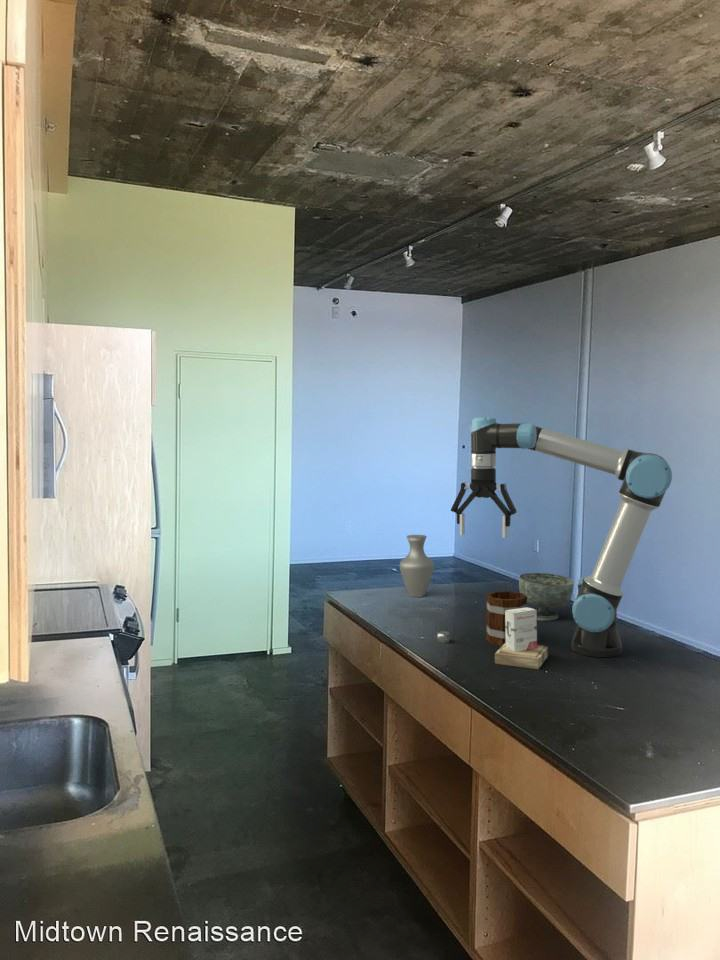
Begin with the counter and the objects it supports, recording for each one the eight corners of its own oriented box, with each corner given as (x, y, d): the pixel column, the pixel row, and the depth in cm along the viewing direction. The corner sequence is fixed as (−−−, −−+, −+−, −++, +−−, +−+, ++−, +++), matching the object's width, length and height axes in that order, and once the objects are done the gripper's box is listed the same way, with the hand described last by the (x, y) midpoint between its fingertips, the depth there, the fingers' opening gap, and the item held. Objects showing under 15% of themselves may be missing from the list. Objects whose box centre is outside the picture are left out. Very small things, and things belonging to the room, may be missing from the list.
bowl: (576, 625, 263) (576, 583, 261) (520, 623, 266) (520, 582, 264) (569, 611, 282) (570, 572, 281) (517, 609, 285) (517, 571, 284)
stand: (506, 651, 234) (506, 640, 234) (547, 656, 229) (548, 645, 228) (494, 663, 223) (494, 651, 222) (538, 669, 217) (538, 657, 217)
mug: (524, 648, 237) (524, 601, 236) (482, 644, 242) (482, 598, 240) (531, 631, 256) (531, 588, 255) (491, 628, 260) (491, 585, 259)
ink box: (527, 644, 230) (527, 606, 229) (537, 648, 225) (538, 609, 224) (504, 648, 226) (504, 609, 225) (514, 652, 221) (514, 613, 220)
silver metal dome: (439, 639, 248) (439, 630, 247) (451, 641, 246) (450, 632, 246) (435, 642, 244) (435, 633, 244) (446, 644, 242) (446, 635, 242)
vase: (417, 589, 320) (416, 532, 318) (441, 595, 309) (441, 536, 307) (392, 595, 311) (392, 535, 309) (416, 601, 300) (416, 539, 298)
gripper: (440, 467, 231) (441, 535, 233) (520, 469, 221) (520, 539, 222) (448, 466, 238) (449, 531, 240) (526, 467, 227) (526, 536, 229)
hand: (483, 535), depth 231 cm, fingers open, 13 cm apart
